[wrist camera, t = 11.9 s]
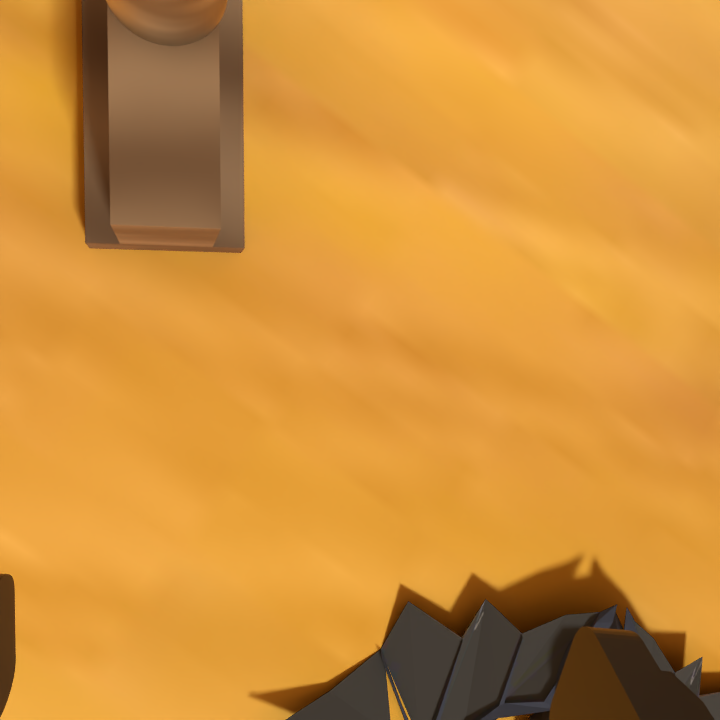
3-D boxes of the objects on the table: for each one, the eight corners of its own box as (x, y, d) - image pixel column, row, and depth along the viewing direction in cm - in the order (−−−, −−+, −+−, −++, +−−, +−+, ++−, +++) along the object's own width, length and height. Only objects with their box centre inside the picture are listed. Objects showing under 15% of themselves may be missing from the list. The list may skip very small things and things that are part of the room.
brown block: (83, -159, 27) (60, -296, 21) (237, -131, 29) (254, -251, 23) (89, 248, 27) (68, 222, 22) (240, 252, 29) (258, 230, 23)
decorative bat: (884, 690, 34) (815, 875, 34) (812, 648, 38) (750, 814, 38) (346, 542, 26) (259, 782, 27) (325, 509, 30) (250, 717, 31)
